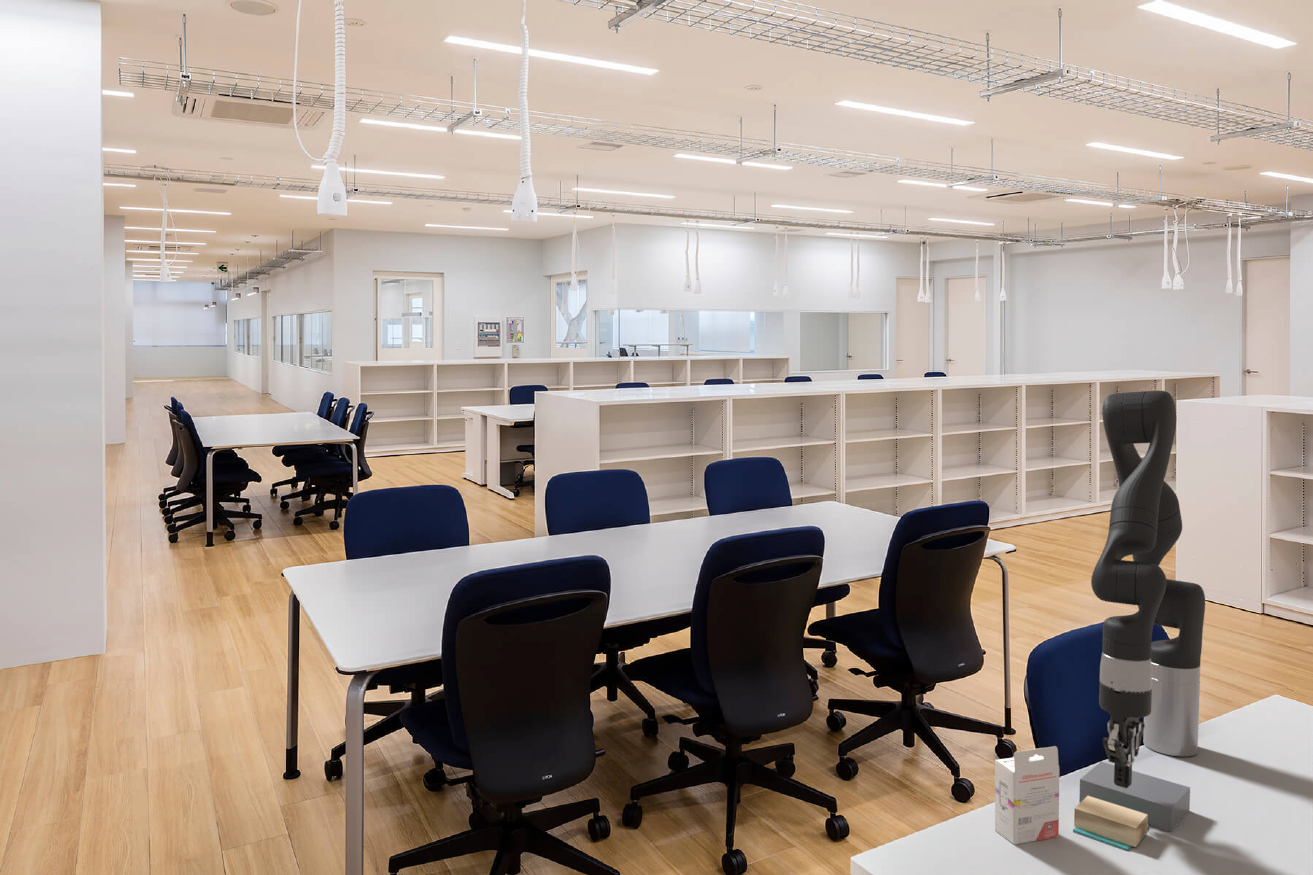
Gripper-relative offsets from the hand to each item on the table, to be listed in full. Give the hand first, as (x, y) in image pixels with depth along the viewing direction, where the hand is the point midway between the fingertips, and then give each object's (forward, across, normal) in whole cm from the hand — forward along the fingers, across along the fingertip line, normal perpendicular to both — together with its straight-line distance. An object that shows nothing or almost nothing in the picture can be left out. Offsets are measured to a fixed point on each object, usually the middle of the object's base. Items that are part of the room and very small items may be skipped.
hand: (1122, 785), depth 141 cm
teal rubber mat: (+6, +5, 0) cm, 8 cm away
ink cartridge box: (+6, +16, -9) cm, 19 cm away
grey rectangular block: (+6, -6, 0) cm, 8 cm away
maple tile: (+4, +6, 0) cm, 7 cm away
